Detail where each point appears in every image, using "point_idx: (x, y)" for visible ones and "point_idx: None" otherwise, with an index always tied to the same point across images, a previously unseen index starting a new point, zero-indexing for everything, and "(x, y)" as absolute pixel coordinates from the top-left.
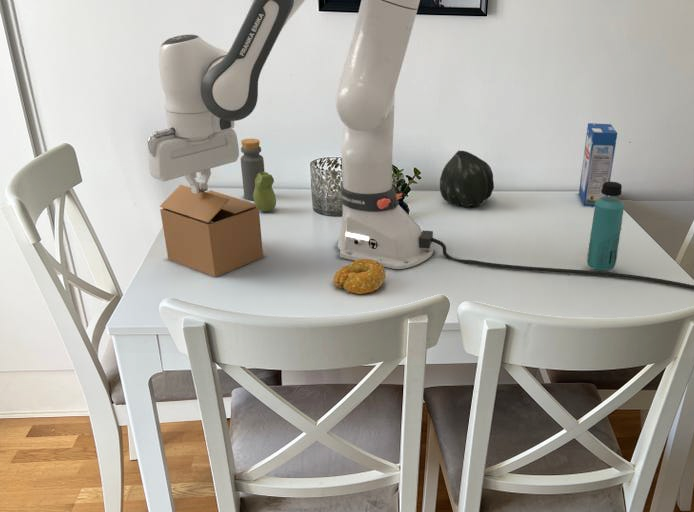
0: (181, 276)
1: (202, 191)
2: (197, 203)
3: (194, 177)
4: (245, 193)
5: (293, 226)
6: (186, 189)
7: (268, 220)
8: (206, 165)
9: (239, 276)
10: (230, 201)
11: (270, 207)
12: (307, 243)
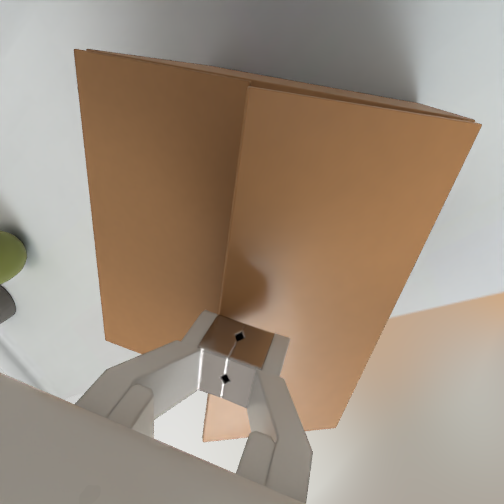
0: (445, 206)
1: (244, 324)
2: (313, 299)
3: (272, 443)
4: (4, 315)
5: (20, 134)
6: (226, 405)
7: (42, 212)
8: (89, 469)
9: (381, 24)
10: (135, 213)
11: (4, 234)
12: (57, 5)
